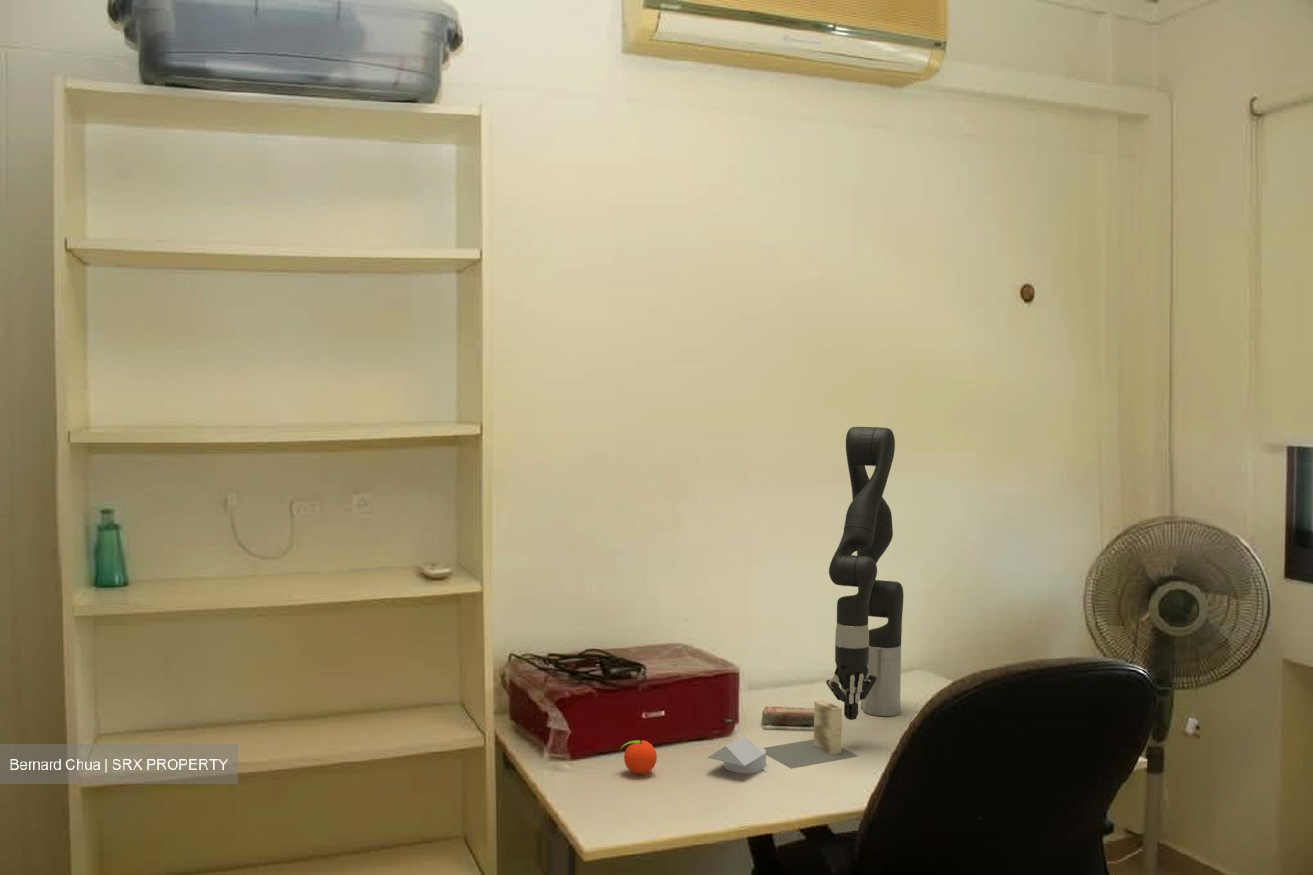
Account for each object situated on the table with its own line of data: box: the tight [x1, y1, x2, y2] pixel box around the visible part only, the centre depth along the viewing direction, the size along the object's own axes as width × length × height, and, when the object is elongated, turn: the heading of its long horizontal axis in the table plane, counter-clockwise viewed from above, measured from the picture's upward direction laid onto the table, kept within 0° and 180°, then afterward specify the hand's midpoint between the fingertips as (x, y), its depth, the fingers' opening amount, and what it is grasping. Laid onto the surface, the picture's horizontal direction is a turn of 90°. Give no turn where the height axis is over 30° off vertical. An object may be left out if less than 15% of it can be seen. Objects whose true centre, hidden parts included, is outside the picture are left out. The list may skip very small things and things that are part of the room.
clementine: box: [619, 739, 658, 775], centre depth 232 cm, size 8×7×7 cm
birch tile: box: [813, 700, 843, 754], centre depth 246 cm, size 7×2×10 cm, turn 27°
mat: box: [763, 738, 859, 769], centre depth 244 cm, size 14×18×1 cm
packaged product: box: [761, 705, 814, 733], centre depth 264 cm, size 18×5×10 cm
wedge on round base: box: [707, 735, 767, 774], centre depth 235 cm, size 9×7×13 cm
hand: (850, 718), depth 249 cm, fingers closed
